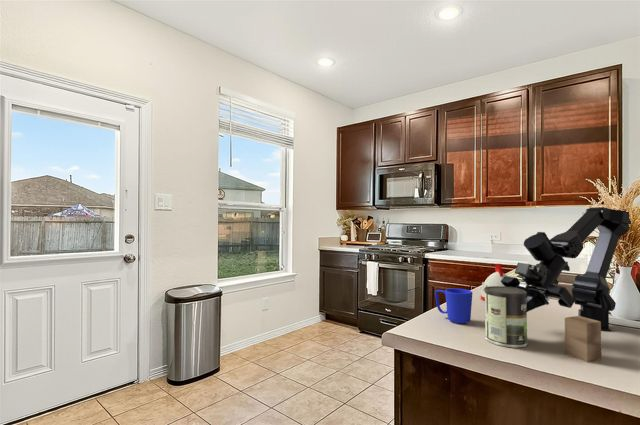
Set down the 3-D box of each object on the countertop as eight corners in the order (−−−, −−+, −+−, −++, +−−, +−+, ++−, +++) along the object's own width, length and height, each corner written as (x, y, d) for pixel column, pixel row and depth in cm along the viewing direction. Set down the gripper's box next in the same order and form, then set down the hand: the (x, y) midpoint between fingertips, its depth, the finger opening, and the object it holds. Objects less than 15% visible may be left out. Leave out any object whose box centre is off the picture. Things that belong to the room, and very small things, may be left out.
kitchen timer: (512, 297, 141) (511, 262, 141) (524, 305, 127) (523, 267, 128) (477, 295, 144) (476, 261, 144) (485, 303, 130) (485, 266, 131)
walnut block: (579, 351, 83) (578, 315, 84) (601, 359, 79) (600, 321, 79) (565, 353, 82) (564, 317, 82) (587, 362, 77) (586, 323, 77)
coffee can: (527, 338, 92) (526, 288, 93) (528, 351, 83) (527, 295, 84) (486, 332, 98) (485, 284, 98) (483, 343, 89) (482, 290, 89)
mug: (441, 313, 116) (441, 285, 116) (476, 321, 108) (476, 290, 108) (430, 318, 111) (430, 289, 111) (466, 327, 102) (466, 294, 102)
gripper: (504, 250, 103) (477, 287, 100) (566, 256, 86) (535, 302, 82) (524, 273, 106) (497, 311, 102) (587, 284, 88) (558, 330, 84)
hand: (519, 313), depth 92 cm, fingers closed, pressing on coffee can
